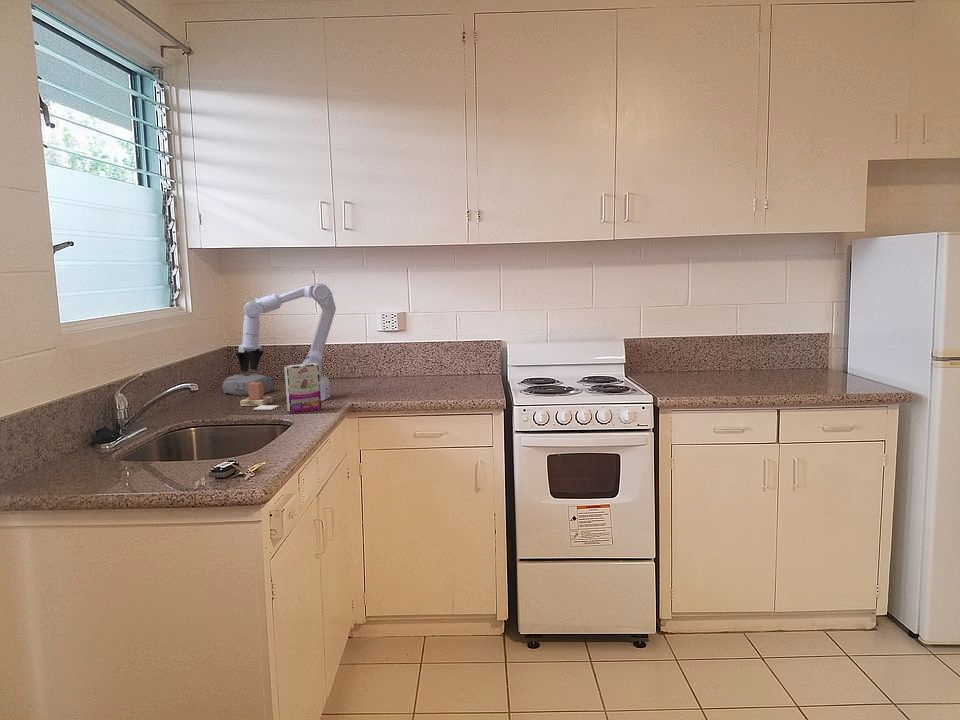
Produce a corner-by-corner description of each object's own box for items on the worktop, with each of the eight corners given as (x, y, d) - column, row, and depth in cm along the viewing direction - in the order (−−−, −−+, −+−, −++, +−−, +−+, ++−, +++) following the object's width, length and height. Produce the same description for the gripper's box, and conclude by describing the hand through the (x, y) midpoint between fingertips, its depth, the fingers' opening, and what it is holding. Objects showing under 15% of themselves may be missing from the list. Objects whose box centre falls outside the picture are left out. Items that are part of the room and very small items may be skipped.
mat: (279, 407, 261) (279, 405, 261) (271, 410, 255) (271, 408, 255) (261, 406, 262) (260, 405, 262) (253, 410, 256) (252, 408, 256)
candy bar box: (318, 407, 258) (315, 362, 256) (321, 410, 253) (319, 363, 251) (286, 411, 253) (283, 365, 251) (289, 413, 248) (286, 366, 246)
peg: (264, 403, 269) (262, 382, 268) (259, 405, 265) (258, 384, 264) (254, 403, 269) (252, 382, 268) (249, 405, 265) (247, 384, 264)
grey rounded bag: (277, 391, 297) (239, 389, 305) (276, 371, 296) (237, 369, 304) (253, 397, 283) (213, 395, 291) (251, 376, 282) (211, 374, 290)
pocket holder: (272, 402, 271) (272, 396, 270) (262, 406, 262) (262, 400, 262) (251, 402, 272) (250, 396, 272) (240, 406, 264) (240, 400, 263)
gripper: (249, 332, 273) (247, 367, 274) (231, 333, 259) (229, 371, 260) (267, 333, 272) (265, 369, 273) (249, 335, 258) (247, 373, 259)
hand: (249, 370), depth 266 cm, fingers open, 7 cm apart
